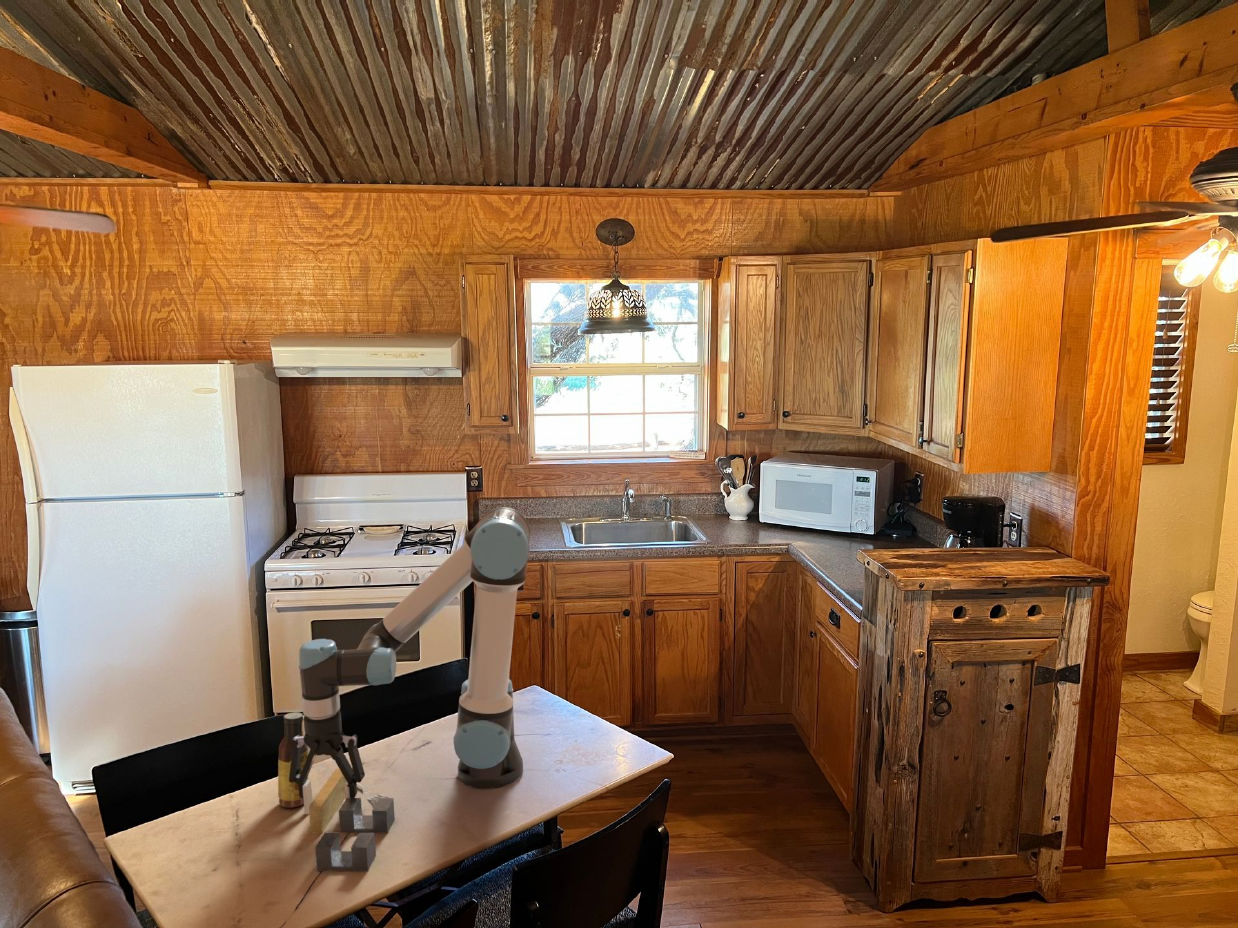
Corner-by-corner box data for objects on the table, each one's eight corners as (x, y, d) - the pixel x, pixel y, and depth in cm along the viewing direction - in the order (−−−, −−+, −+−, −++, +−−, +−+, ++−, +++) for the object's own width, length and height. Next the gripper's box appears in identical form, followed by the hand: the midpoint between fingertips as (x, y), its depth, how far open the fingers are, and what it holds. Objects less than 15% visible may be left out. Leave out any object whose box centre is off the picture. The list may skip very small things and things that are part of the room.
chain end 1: (394, 819, 189) (393, 797, 188) (387, 832, 184) (386, 810, 183) (348, 819, 189) (346, 797, 189) (340, 832, 184) (338, 810, 184)
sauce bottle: (299, 810, 193) (297, 723, 191) (272, 807, 194) (271, 720, 192) (314, 796, 199) (313, 711, 197) (288, 793, 200) (287, 708, 198)
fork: (337, 766, 213) (336, 759, 213) (390, 803, 196) (389, 795, 196) (324, 771, 211) (324, 764, 211) (377, 808, 194) (376, 801, 194)
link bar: (348, 793, 200) (346, 768, 200) (322, 833, 185) (320, 806, 184) (337, 793, 201) (335, 768, 200) (310, 833, 185) (308, 806, 184)
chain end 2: (376, 855, 176) (374, 832, 175) (368, 871, 171) (366, 847, 170) (326, 855, 177) (324, 832, 176) (317, 870, 172) (315, 847, 171)
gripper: (376, 704, 192) (383, 801, 196) (280, 704, 193) (288, 801, 197) (365, 719, 185) (372, 820, 188) (265, 720, 186) (274, 820, 189)
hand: (329, 810), depth 193 cm, fingers open, 8 cm apart
